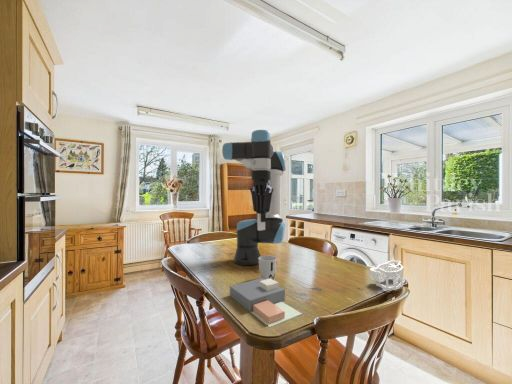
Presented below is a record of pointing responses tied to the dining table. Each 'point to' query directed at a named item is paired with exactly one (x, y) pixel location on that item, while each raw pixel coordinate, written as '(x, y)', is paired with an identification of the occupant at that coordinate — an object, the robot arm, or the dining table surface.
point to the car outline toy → (388, 274)
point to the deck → (255, 294)
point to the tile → (268, 311)
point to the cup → (267, 266)
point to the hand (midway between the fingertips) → (261, 229)
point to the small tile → (268, 284)
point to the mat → (289, 314)
